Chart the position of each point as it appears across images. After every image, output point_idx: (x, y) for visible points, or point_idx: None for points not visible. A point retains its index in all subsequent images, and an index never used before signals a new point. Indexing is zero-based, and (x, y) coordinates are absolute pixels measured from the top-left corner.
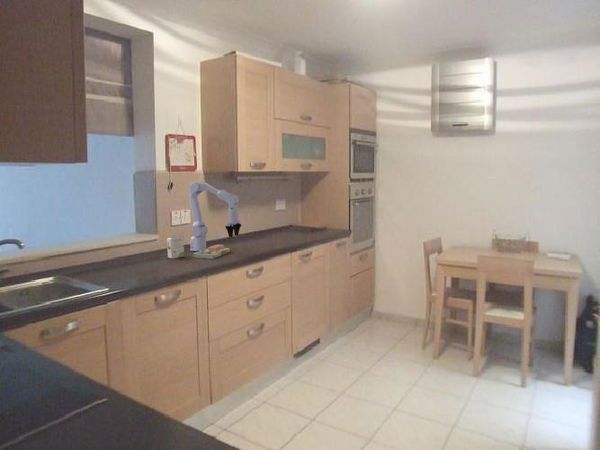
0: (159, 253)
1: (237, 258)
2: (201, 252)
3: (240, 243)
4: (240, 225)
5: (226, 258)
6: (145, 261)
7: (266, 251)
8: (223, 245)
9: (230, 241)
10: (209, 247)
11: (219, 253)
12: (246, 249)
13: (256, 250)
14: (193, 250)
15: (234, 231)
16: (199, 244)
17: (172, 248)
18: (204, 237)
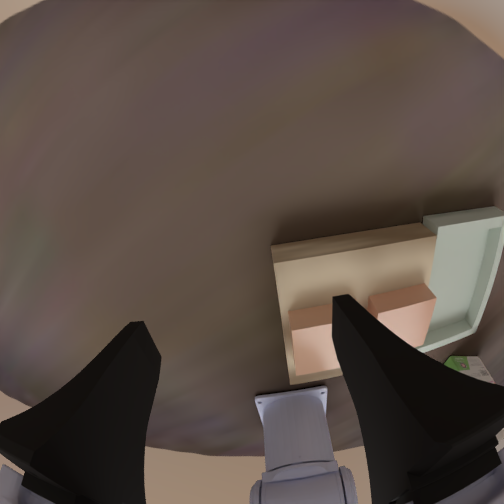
0: None
1: (450, 59)
2: None
3: (28, 346)
4: (24, 436)
5: (474, 134)
6: (500, 368)
7: (87, 10)
8: (303, 326)
9: (48, 393)
10: (425, 336)
11: (457, 221)
12: (95, 204)
13: (83, 100)
14: (325, 413)
15: (148, 406)
16: (326, 427)
17: (494, 383)
18: (305, 458)
